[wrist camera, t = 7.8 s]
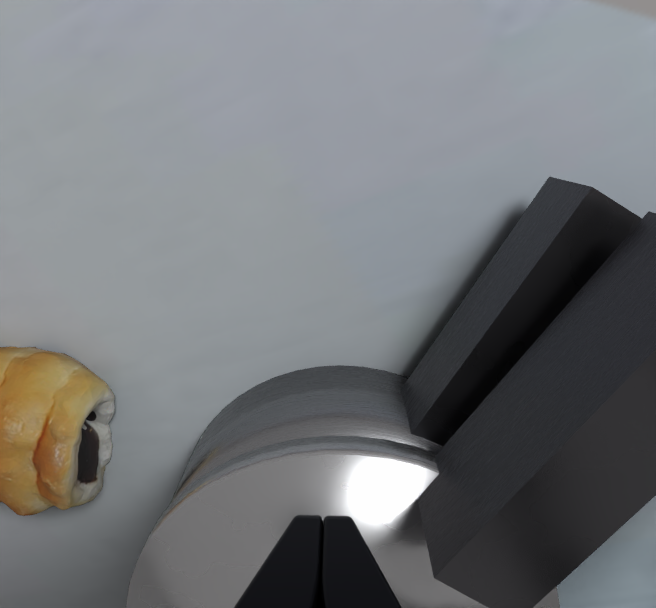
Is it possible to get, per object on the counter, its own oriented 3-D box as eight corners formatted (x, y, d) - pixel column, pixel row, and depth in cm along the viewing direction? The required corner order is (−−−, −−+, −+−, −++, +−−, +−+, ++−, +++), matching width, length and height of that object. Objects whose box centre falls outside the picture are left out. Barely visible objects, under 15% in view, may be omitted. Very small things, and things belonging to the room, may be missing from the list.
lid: (861, 375, 14) (1034, 457, 11) (388, 787, 21) (398, 923, 18) (463, 72, 12) (515, 51, 8) (71, 646, 19) (8, 769, 15)
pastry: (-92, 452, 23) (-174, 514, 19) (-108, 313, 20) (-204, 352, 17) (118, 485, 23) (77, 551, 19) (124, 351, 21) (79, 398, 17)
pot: (714, 285, 19) (838, 338, 14) (356, 696, 27) (360, 817, 22) (398, 87, 17) (421, 72, 12) (111, 594, 25) (57, 704, 20)
